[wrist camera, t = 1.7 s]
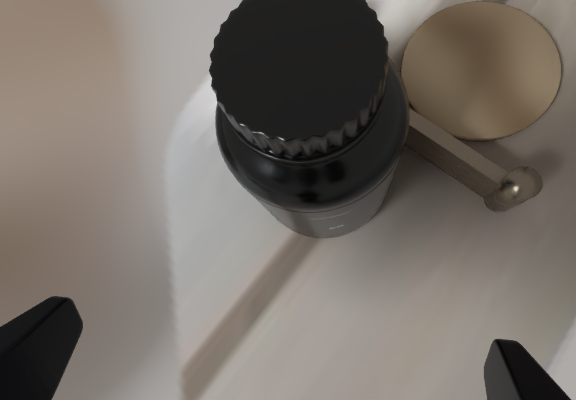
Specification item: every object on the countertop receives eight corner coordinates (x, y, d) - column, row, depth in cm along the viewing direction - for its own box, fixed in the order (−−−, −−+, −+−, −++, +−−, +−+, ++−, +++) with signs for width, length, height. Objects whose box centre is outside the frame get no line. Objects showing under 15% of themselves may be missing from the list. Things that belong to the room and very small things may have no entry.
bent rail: (491, 225, 20) (516, 214, 17) (302, 54, 24) (295, 20, 21) (519, 198, 21) (549, 182, 17) (326, 32, 24) (323, -7, 21)
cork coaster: (482, 171, 21) (484, 169, 21) (370, 74, 23) (371, 70, 23) (591, 67, 21) (596, 63, 21) (472, -20, 23) (474, -25, 23)
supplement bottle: (260, 240, 22) (161, 185, 10) (263, 121, 24) (180, -43, 12) (391, 239, 21) (440, 177, 10) (385, 115, 23) (423, -70, 11)
